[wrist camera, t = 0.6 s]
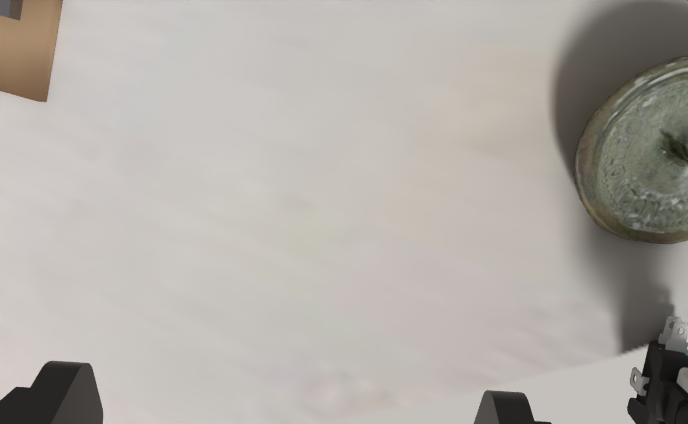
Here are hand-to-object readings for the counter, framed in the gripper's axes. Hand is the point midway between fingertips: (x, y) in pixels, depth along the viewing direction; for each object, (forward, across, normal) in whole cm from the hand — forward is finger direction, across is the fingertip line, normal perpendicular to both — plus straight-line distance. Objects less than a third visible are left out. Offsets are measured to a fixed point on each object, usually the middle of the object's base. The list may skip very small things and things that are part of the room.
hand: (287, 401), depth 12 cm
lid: (+21, -19, +4) cm, 28 cm away
